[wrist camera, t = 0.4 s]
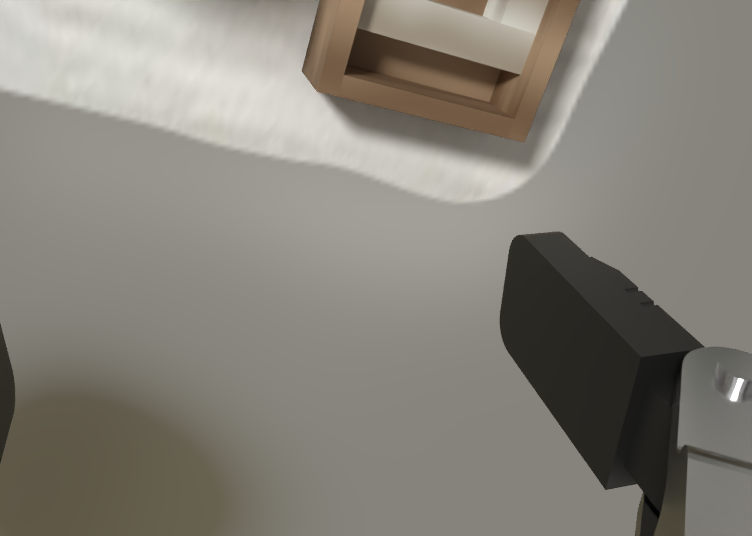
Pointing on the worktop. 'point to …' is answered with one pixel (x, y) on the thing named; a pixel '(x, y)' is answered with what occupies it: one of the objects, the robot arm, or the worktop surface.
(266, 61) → the worktop surface
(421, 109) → the box
